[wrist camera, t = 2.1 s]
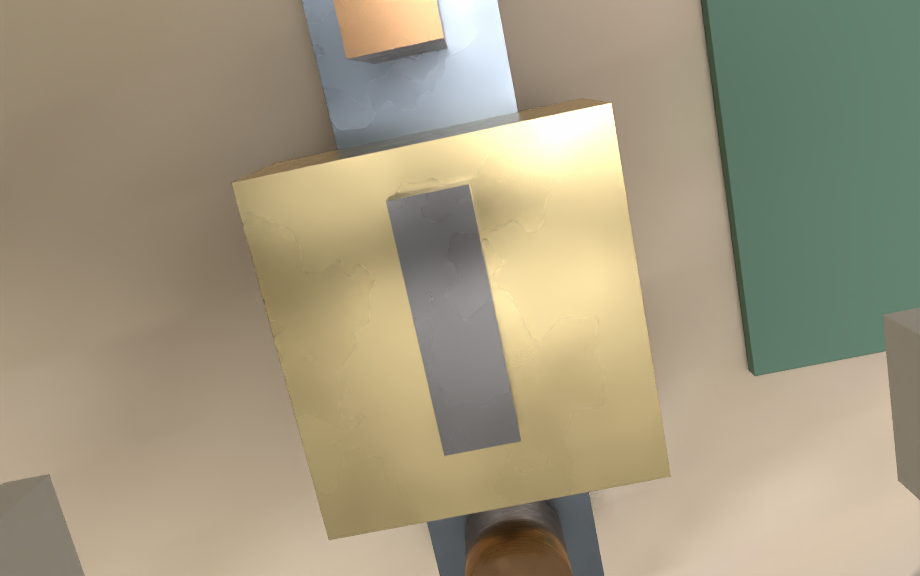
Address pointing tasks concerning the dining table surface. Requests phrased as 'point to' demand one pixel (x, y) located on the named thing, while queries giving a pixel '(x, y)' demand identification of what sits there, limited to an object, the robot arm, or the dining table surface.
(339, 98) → the knobbed metal bar
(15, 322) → the dining table surface
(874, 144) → the felt pad
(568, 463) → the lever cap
